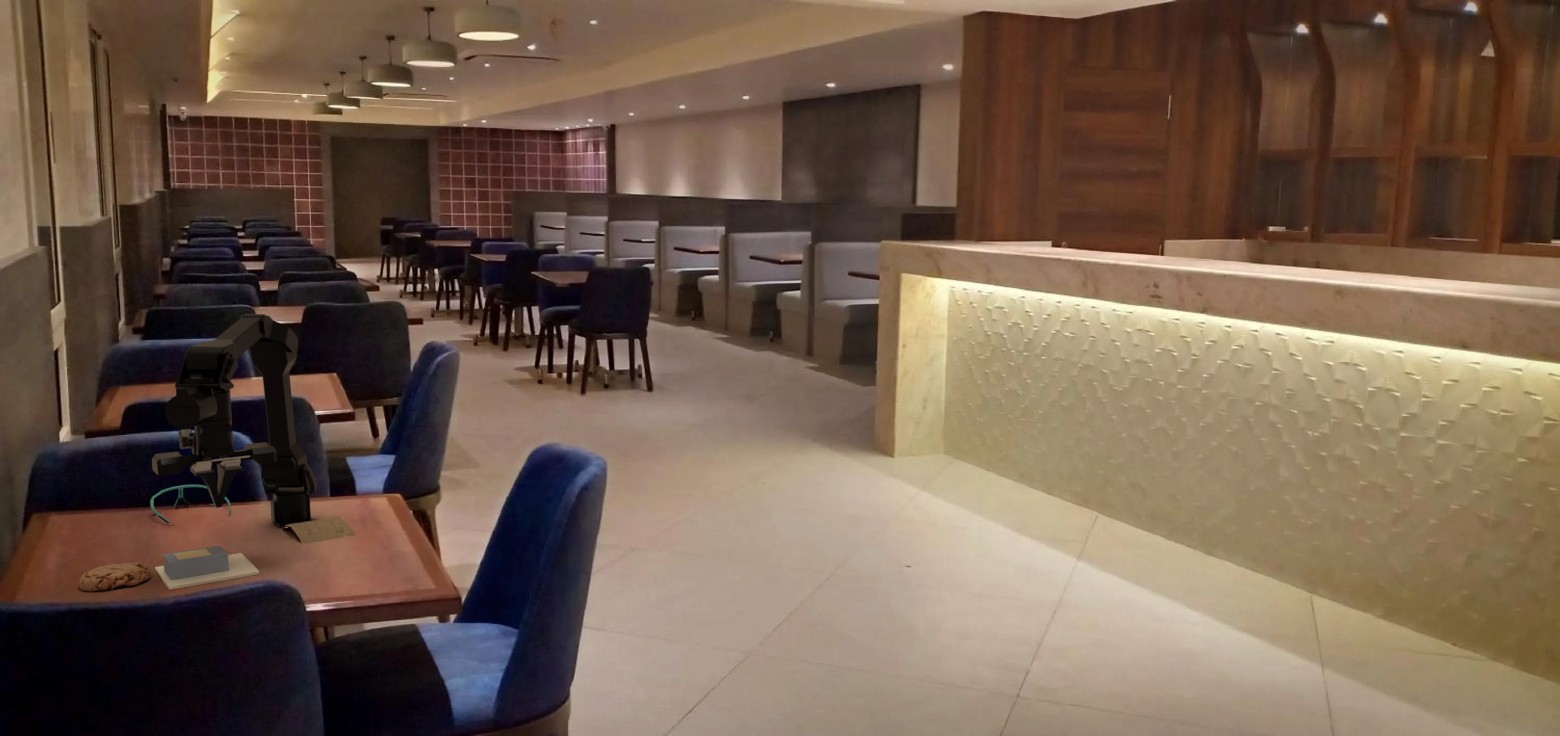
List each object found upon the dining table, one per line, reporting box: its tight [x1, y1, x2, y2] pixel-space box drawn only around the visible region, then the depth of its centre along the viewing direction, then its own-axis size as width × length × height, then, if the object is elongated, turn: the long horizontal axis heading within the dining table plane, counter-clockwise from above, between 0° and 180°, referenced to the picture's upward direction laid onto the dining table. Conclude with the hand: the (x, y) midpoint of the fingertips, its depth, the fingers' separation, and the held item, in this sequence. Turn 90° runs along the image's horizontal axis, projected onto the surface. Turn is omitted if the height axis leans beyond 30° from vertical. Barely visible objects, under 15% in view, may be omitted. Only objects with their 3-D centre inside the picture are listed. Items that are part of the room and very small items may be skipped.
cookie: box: [78, 562, 152, 592], centre depth 193 cm, size 10×11×3 cm
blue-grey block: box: [162, 545, 229, 580], centre depth 198 cm, size 3×6×9 cm
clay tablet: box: [281, 516, 355, 544], centre depth 224 cm, size 14×10×3 cm
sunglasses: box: [149, 484, 232, 524], centre depth 235 cm, size 14×15×5 cm
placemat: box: [154, 552, 261, 591], centre depth 199 cm, size 14×13×1 cm
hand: (218, 506), depth 199 cm, fingers closed
